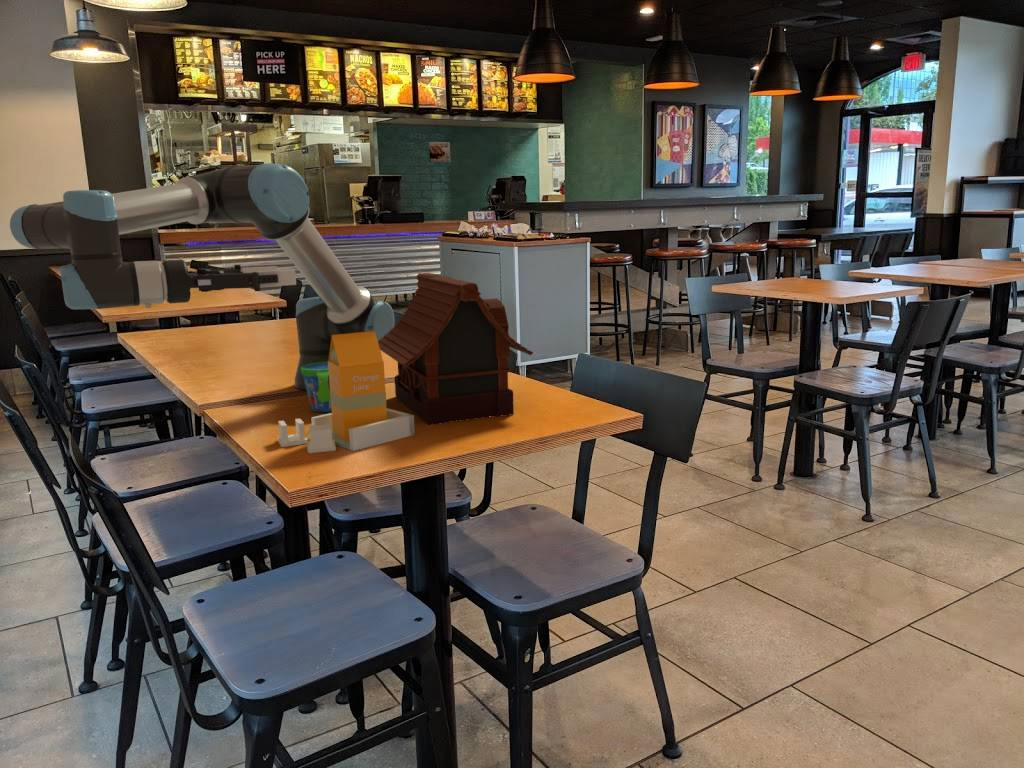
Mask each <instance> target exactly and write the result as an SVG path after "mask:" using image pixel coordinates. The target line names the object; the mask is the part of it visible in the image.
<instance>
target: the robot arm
mask: <svg viewBox="0 0 1024 768" xmlns="http://www.w3.org/2000/svg"><path fill="white" fill-rule="evenodd" d="M308 192H309V189H308V187H307V184H306V182H305V180H304V179H303V177H302V176H301V174H300V173H299V172H298V171H296V170H295V169H294V168H293V167H290V166H289V165H285V164H281V163H271V162H266V163H260V164H255V165H241V166H238V165H237V166H226V167H222V168H218V169H214V170H211V171H208V172H204V173H203V172H202V173H199V174H196V175H191V176H185V177H181V178H180V179H179V180H177V182H176V183H174V184H166V185H162V186H159V185H158V186H155V187H148V188H142V189H141V188H140V189H134V190H128V191H121V192H115V193H114V192H113V193H111V192H109V191H108V190H99V189H98V190H97V189H96V190H95V189H92V190H91V189H88V190H87V189H86V190H85V189H83V190H80V189H79V190H78V189H77V190H67V191H65V192H64V193H63V195H62V200H63V201H57V202H51V203H50V202H49V203H44V204H43V203H42V204H36V203H33V204H29V205H24V206H21V207H19V208H17V209H16V210H15V211H14V212H13V213H12V215H11V217H10V220H9V228H10V231H11V232H10V233H11V234H12V237H13V238H14V239H15V240H16V242H18V243H19V244H20V245H22V246H23V247H25V248H29V249H36V250H38V251H42V250H49V249H50V250H53V249H55V250H56V249H59V250H60V249H64V250H65V249H66V250H67V249H68V250H70V257H71V263H68V264H65V265H61V267H60V268H59V272H60V273H59V274H60V278H61V285H62V292H63V293H62V294H63V299H64V303H65V306H66V307H67V308H69V309H70V310H102V309H103V310H104V309H105V310H106V309H113V308H114V309H117V308H126V307H138V306H144V307H145V309H148V310H149V309H151V308H152V304H153V305H161V304H162V305H163V304H164V302H165V301H166V302H167V303H168V304H184V303H188V302H190V300H191V296H192V295H191V289H198V291H199V292H203V293H206V292H211V291H223V290H226V289H227V290H229V289H231V290H232V289H254V292H260V291H261V288H264V287H265V288H267V287H268V288H269V287H282V286H296V285H297V277H296V269H280V270H278V266H275V265H274V266H258V267H257V266H256V267H242V268H241V264H234V267H230V268H224V269H222V268H221V269H217V268H205V267H204V268H196V271H192V270H189V269H188V265H187V262H186V261H185V260H184V259H169V260H167V259H165V260H163V261H162V263H160V262H159V261H158V260H137V261H129V262H127V261H126V262H124V261H123V256H122V251H121V240H120V235H124V234H125V235H126V234H131V233H135V232H139V231H144V230H150V229H155V228H161V227H165V226H170V225H175V224H176V225H177V224H179V223H186V222H187V223H189V224H192V225H200V224H206V223H233V224H243V223H244V224H252V225H254V227H255V228H256V229H257V231H258V232H259V233H260V234H261V235H262V237H263V238H264V239H265V240H268V241H276V243H277V244H278V246H279V247H280V248H281V249H282V251H283V252H284V254H286V256H287V257H288V258H289V260H290V261H291V262H292V264H293V265H294V266H295V267H296V268H297V270H298V272H299V273H301V275H302V276H303V277H304V279H305V280H306V281H307V283H308V284H309V285H310V286H311V288H312V289H313V290H314V292H315V293H316V294H317V295H318V296H313V297H307V298H302V299H299V300H298V301H297V302H296V304H295V320H296V331H297V341H298V350H299V358H298V363H297V368H296V371H295V375H294V387H295V388H296V389H299V390H304V391H306V387H305V382H304V378H303V375H302V374H301V367H302V366H304V365H307V364H312V363H319V362H328V359H329V352H330V344H331V337H332V335H338V334H349V333H359V332H370V331H375V333H376V337H377V341H379V339H381V338H382V337H384V335H385V334H387V333H388V332H389V331H390V330H391V329H392V328H393V327H394V325H395V315H394V314H395V313H394V310H393V308H392V305H390V304H389V303H388V302H387V301H383V300H378V301H377V300H375V298H374V297H373V296H372V294H371V292H370V291H369V290H368V289H367V288H366V287H364V286H360V285H357V284H356V282H355V281H354V279H353V278H352V277H351V276H350V274H349V272H348V271H347V270H346V268H345V267H344V266H343V264H342V263H341V262H340V261H339V259H338V258H337V256H336V254H335V253H334V251H332V249H331V248H330V246H329V245H328V243H327V242H326V241H325V240H324V238H323V236H322V235H321V234H320V232H319V231H318V230H317V228H316V227H315V226H314V224H313V222H312V221H311V219H309V217H310V211H311V210H310V207H309V205H310V196H309V195H307V194H308Z"/></svg>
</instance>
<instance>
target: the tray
mask: <svg viewBox="0 0 1024 768" xmlns="http://www.w3.org/2000/svg"><path fill="white" fill-rule="evenodd" d="M386 409H387V420H384V421H380V422H376V423H372V424H367V425H363V426H359V427H355V428H351V429H349V441H346V442H345V441H343V440H342V439H341V438H339V437H338V436H337V435H336V434H334V433H333V421H332V412H328V413H326V414H319V415H317V416H312V417H311V416H310V417H311V426H313V425H324V424H331V431H332V440H333V439H334V440H335V446H339V447H341V448H344V449H347V450H349V451H353V452H356V451H359V449H360V450H362V449H366V448H370V447H374V446H378V445H382V444H385V443H389V442H392V441H397V440H401V439H404V438H407V437H408V438H409V437H412V436H415V435H416V432H415V428H416V427H415V415H414V414H410V413H408V412H407V413H406V412H404V411H399V410H395V409H391V408H388V407H386Z"/></svg>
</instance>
